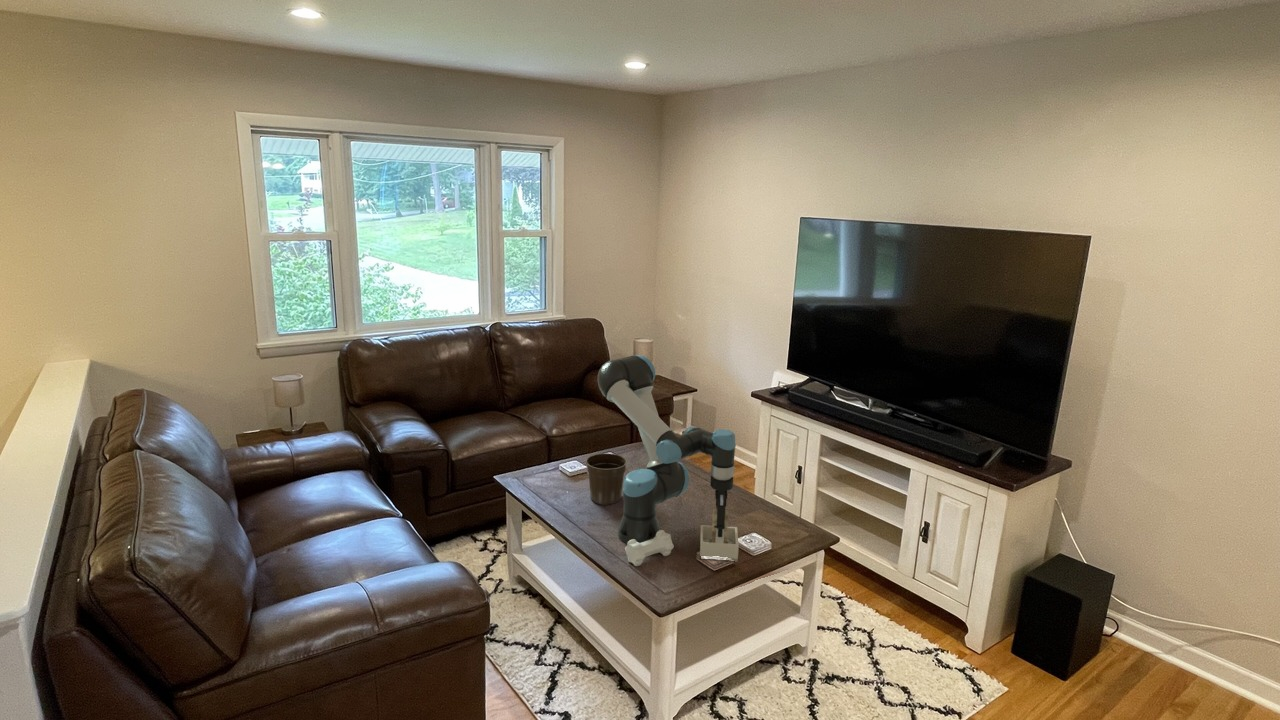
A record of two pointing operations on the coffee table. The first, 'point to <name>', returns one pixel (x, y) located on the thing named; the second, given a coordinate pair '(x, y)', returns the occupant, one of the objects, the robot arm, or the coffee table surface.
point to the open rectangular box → (719, 548)
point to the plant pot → (606, 477)
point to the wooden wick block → (714, 523)
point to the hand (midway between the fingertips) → (719, 536)
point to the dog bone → (649, 547)
